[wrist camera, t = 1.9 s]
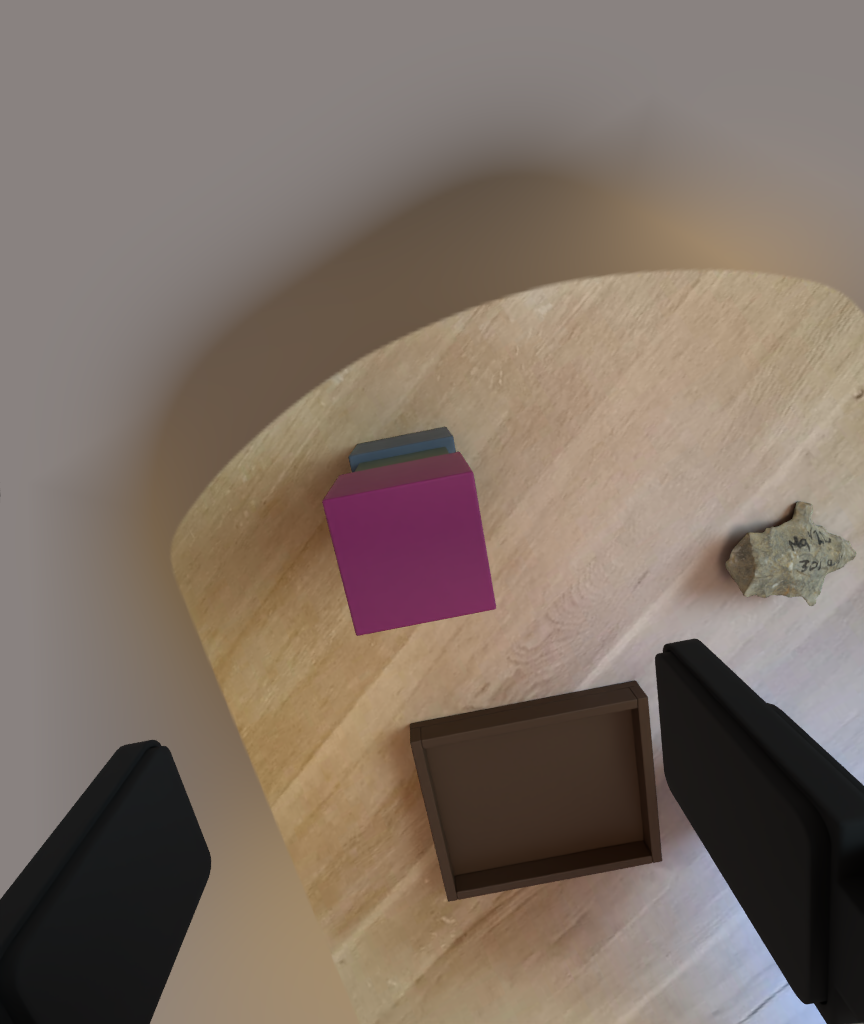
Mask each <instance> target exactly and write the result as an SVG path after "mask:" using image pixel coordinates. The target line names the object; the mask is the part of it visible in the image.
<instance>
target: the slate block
mask: <svg viewBox="0 0 864 1024" xmlns="http://www.w3.org/2000/svg"><path fill="white" fill-rule="evenodd" d="M440 447H446V448H447V450H448V452H449V454H450V453H455V452H456V450H455V445H454V439H453V436H452V435H451V433H450V432H449V430H448V429H447V427H442V428H437V429H432V430H427V431H422V432H416V433H411V434H406V435H401V436H396V437H391V438H386V439H381V440H376V441H370V442H365V443H360V444H357V445H356V447H355V448H354V449H353V451H352V452H351V454H350V455H349V462H350V466H351V470H352V472H355V470H356V468H357V467H358V465H359V463H363V462H368V461H373V460H378V459H383V458H389V457H394V456H399V455H404V454H409V453H414V452H419V451H424V450H430V449H435V448H440Z"/></svg>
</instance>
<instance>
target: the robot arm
mask: <svg viewBox="0 0 864 1024" xmlns="http://www.w3.org/2000/svg"><path fill="white" fill-rule="evenodd" d="M655 666H656V678H657V690H658V702H659V714H660V726H661V739H662V751H663V763H664V772H665V777H666V780H667V783H668V786H669V788H670V790H671V792H672V794H673V796H674V797H675V799H676V801H677V802H678V804H679V805H680V807H681V809H682V810H683V812H684V814H685V815H686V817H687V818H688V820H689V822H690V823H691V825H692V827H693V828H694V830H695V831H696V833H697V835H698V836H699V838H700V840H701V841H702V843H703V845H704V846H705V848H706V849H707V851H708V853H709V854H710V856H711V858H712V859H713V861H714V862H715V864H716V866H717V867H718V869H719V871H720V872H721V874H722V876H723V877H724V879H725V880H726V882H727V884H728V885H729V887H730V889H731V890H732V892H733V893H734V895H735V897H736V898H737V900H738V902H739V903H740V905H741V907H742V908H743V910H744V911H745V913H746V915H747V916H748V918H749V920H750V921H751V923H752V924H753V926H754V928H755V929H756V931H757V933H758V934H759V936H760V938H761V939H762V941H763V942H764V944H765V946H766V947H767V949H768V951H769V952H770V954H771V955H772V957H773V959H774V960H775V962H776V964H777V965H778V967H779V968H780V970H781V972H782V973H783V975H784V977H785V978H786V980H787V982H788V983H789V985H790V986H791V988H792V990H793V991H794V993H795V994H796V996H797V997H798V998H799V999H800V1000H801V1001H802V1002H803V1003H804V1004H812V1003H814V1004H815V1006H816V1007H817V1009H818V1010H819V1012H820V1014H821V1015H822V1017H823V1018H824V1020H825V1021H826V1023H827V1024H864V786H863V785H862V784H861V783H860V782H859V781H858V780H857V779H856V778H855V777H854V776H853V775H852V774H850V773H849V772H848V771H847V770H846V769H845V768H844V767H843V766H842V765H841V764H840V763H838V762H837V761H836V760H835V759H834V758H833V757H832V756H831V755H830V754H829V753H828V752H827V751H825V750H824V749H823V748H822V747H821V746H820V745H819V744H818V743H817V742H816V741H815V740H814V739H812V738H811V737H810V736H809V735H808V734H807V733H806V732H805V731H804V730H803V729H802V728H800V727H799V726H798V725H797V724H796V723H795V722H794V721H793V720H792V719H791V718H790V717H789V716H787V715H786V714H785V713H784V712H783V711H782V710H781V709H779V708H778V707H776V706H775V705H773V704H769V703H766V702H765V701H764V700H763V699H762V698H760V697H759V696H758V695H757V694H756V693H755V692H754V691H753V690H752V689H751V688H750V687H749V686H748V685H747V684H746V683H745V682H743V681H742V680H741V679H740V678H739V677H738V676H737V675H736V674H735V673H734V672H733V671H732V670H731V669H730V668H729V667H728V666H726V665H725V664H724V663H723V662H722V661H721V660H720V659H719V658H718V657H717V656H716V655H715V654H714V653H713V652H712V651H710V650H709V649H708V648H707V647H706V646H705V645H704V644H703V643H702V642H701V641H699V640H698V639H690V640H685V641H680V642H674V643H669V644H666V645H664V648H663V653H659V654H657V655H656V657H655ZM210 870H211V856H210V852H209V850H208V847H207V844H206V842H205V839H204V837H203V834H202V832H201V829H200V827H199V824H198V821H197V819H196V816H195V814H194V811H193V808H192V806H191V803H190V801H189V798H188V796H187V793H186V791H185V788H184V785H183V783H182V780H181V778H180V775H179V773H178V770H177V767H176V765H175V762H174V760H173V757H172V755H171V752H170V750H169V749H168V748H167V747H166V746H161V744H160V743H159V742H158V741H156V740H149V741H144V742H138V743H133V744H128V745H124V746H122V747H120V748H119V749H118V750H117V751H116V752H115V753H114V755H113V756H112V757H111V759H110V760H109V761H108V762H107V764H106V765H105V766H104V768H103V769H102V770H101V771H100V773H99V774H98V775H97V777H96V778H95V779H94V780H93V782H92V783H91V784H90V785H89V787H88V788H87V789H86V791H85V792H84V793H83V794H82V796H81V797H80V798H79V800H78V801H77V802H76V803H75V805H74V806H73V807H72V808H71V810H70V811H69V812H68V814H67V815H66V816H65V818H64V819H63V820H62V821H61V822H60V824H59V825H58V826H57V828H56V829H55V830H54V831H53V833H52V834H51V835H50V837H49V838H48V839H47V840H46V842H45V843H44V844H43V846H42V847H41V848H40V849H39V851H38V852H37V853H36V855H35V856H34V857H33V858H32V860H31V861H30V862H29V863H28V865H27V866H26V867H25V869H24V870H23V871H22V873H21V874H20V875H19V876H18V878H17V879H16V880H15V882H14V883H13V884H12V885H11V886H10V888H9V889H8V890H7V892H6V893H5V894H4V895H3V897H2V898H1V899H0V1024H150V1021H151V1019H152V1017H153V1014H154V1011H155V1009H156V1007H157V1004H158V1002H159V999H160V997H161V994H162V992H163V989H164V987H165V984H166V982H167V979H168V977H169V975H170V972H171V970H172V967H173V965H174V962H175V960H176V957H177V955H178V952H179V950H180V947H181V945H182V942H183V940H184V937H185V935H186V932H187V930H188V927H189V925H190V923H191V920H192V918H193V915H194V913H195V910H196V908H197V905H198V903H199V900H200V898H201V895H202V893H203V890H204V888H205V885H206V883H207V880H208V878H209V875H210Z"/></svg>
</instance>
